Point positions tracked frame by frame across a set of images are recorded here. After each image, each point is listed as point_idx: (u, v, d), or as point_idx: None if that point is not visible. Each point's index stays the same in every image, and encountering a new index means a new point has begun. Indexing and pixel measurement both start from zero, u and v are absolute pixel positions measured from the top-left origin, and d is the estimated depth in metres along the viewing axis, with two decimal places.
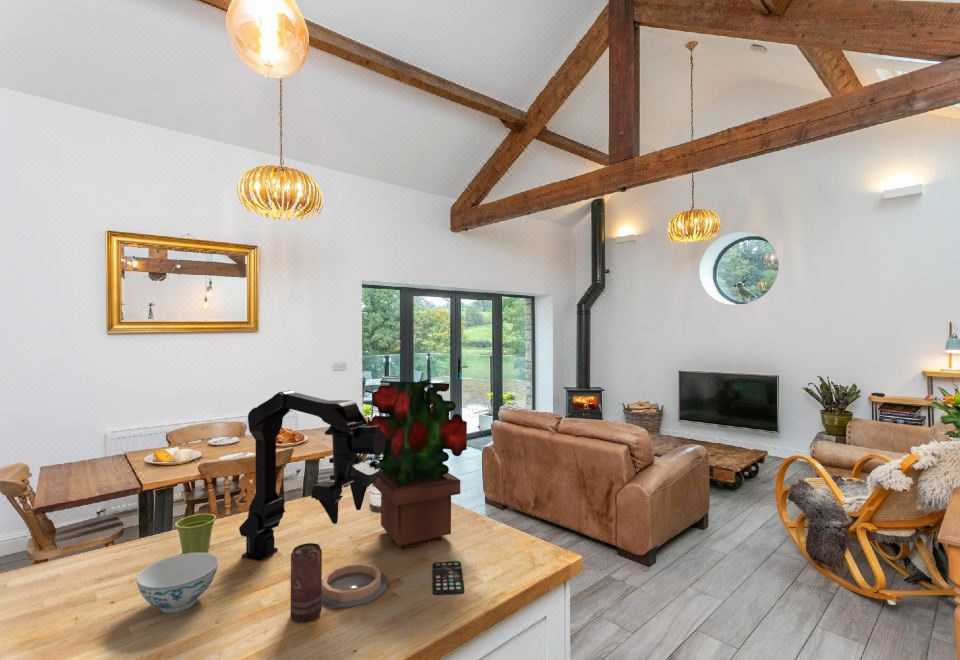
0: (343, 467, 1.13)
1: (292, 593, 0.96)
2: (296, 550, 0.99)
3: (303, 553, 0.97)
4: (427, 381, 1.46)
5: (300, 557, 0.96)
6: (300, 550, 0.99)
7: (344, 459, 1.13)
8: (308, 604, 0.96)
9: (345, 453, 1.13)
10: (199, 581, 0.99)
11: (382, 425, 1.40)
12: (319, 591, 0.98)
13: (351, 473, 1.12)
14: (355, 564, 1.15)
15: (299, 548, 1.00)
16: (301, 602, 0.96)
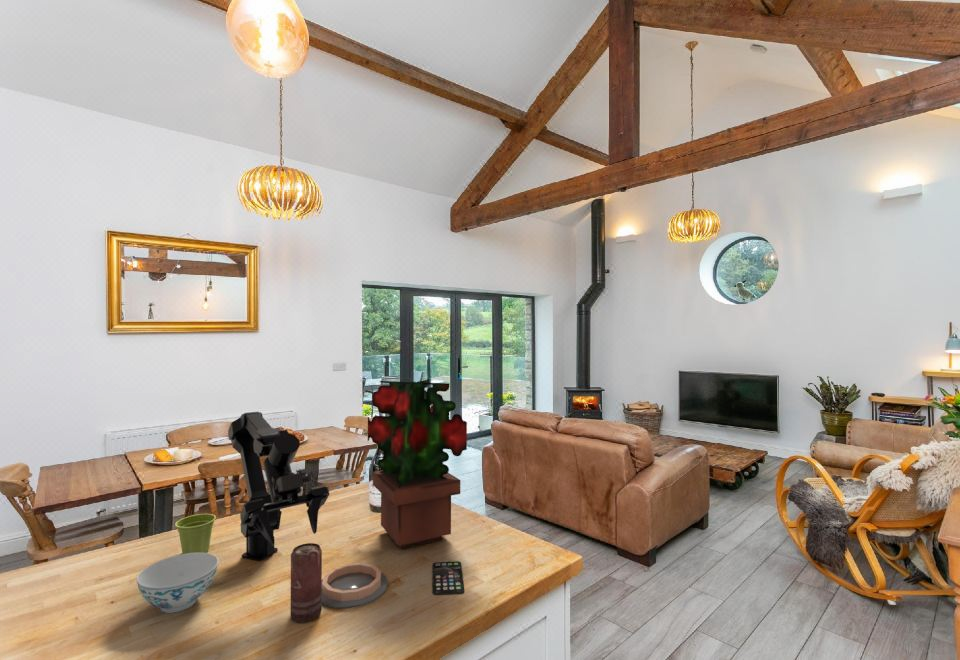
0: (272, 486, 1.09)
1: (292, 593, 0.96)
2: (296, 550, 0.99)
3: (303, 553, 0.97)
4: (427, 381, 1.46)
5: (300, 557, 0.96)
6: (300, 550, 0.99)
7: (271, 478, 1.10)
8: (308, 604, 0.96)
9: (271, 473, 1.11)
10: (199, 581, 0.99)
11: (382, 425, 1.40)
12: (319, 591, 0.98)
13: (275, 486, 1.07)
14: (355, 564, 1.15)
15: (299, 548, 1.00)
16: (301, 602, 0.96)
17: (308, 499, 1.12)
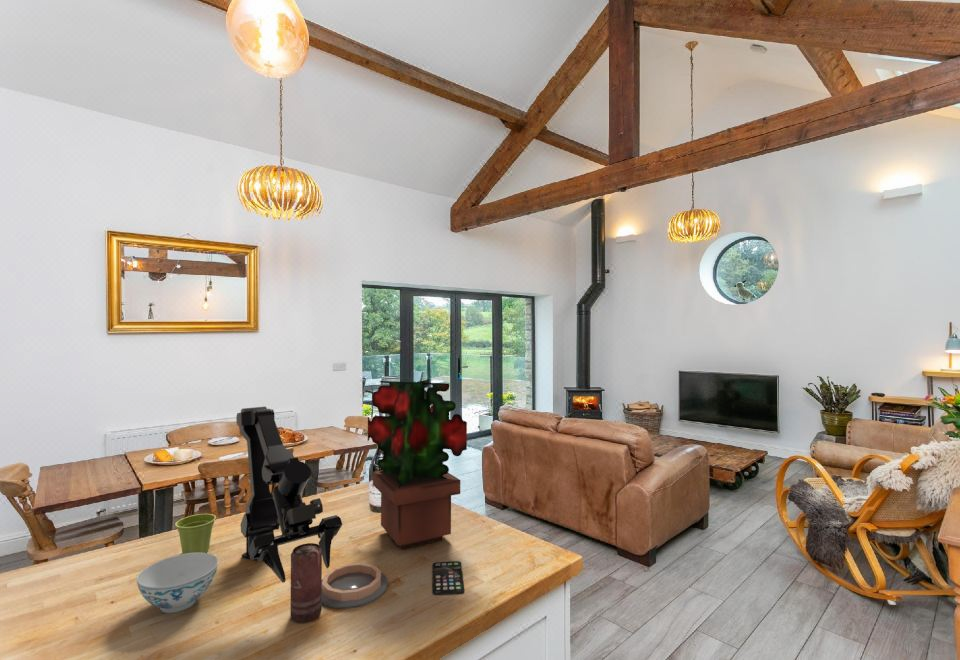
0: (282, 518, 1.03)
1: (292, 593, 0.96)
2: (296, 550, 0.99)
3: (303, 553, 0.97)
4: (427, 381, 1.46)
5: (300, 557, 0.96)
6: (300, 550, 0.99)
7: (281, 509, 1.04)
8: (308, 604, 0.96)
9: (281, 503, 1.05)
10: (199, 581, 0.99)
11: (382, 425, 1.40)
12: (319, 591, 0.98)
13: (285, 518, 1.01)
14: (355, 564, 1.15)
15: (299, 548, 1.00)
16: (301, 602, 0.96)
17: (320, 530, 1.06)
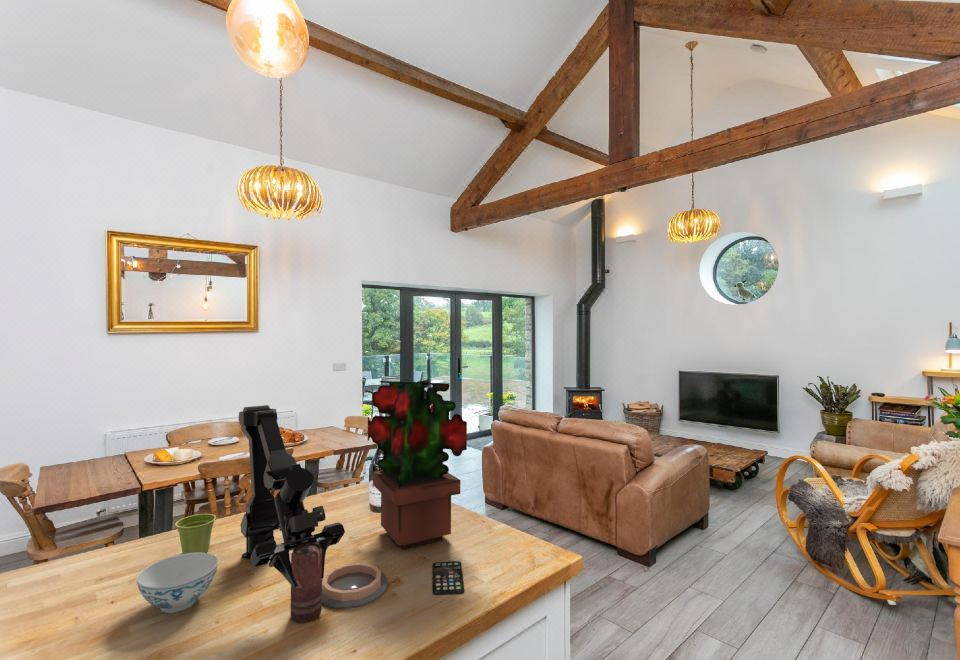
0: (284, 525, 1.02)
1: (292, 593, 0.96)
2: (296, 550, 0.99)
3: (303, 553, 0.97)
4: (427, 381, 1.46)
5: (300, 557, 0.96)
6: (300, 550, 0.99)
7: (283, 517, 1.03)
8: (308, 604, 0.96)
9: (283, 510, 1.04)
10: (199, 581, 0.99)
11: (382, 425, 1.40)
12: (319, 591, 0.98)
13: (287, 526, 1.00)
14: (355, 564, 1.15)
15: (299, 548, 1.00)
16: (301, 602, 0.96)
17: (314, 540, 1.04)
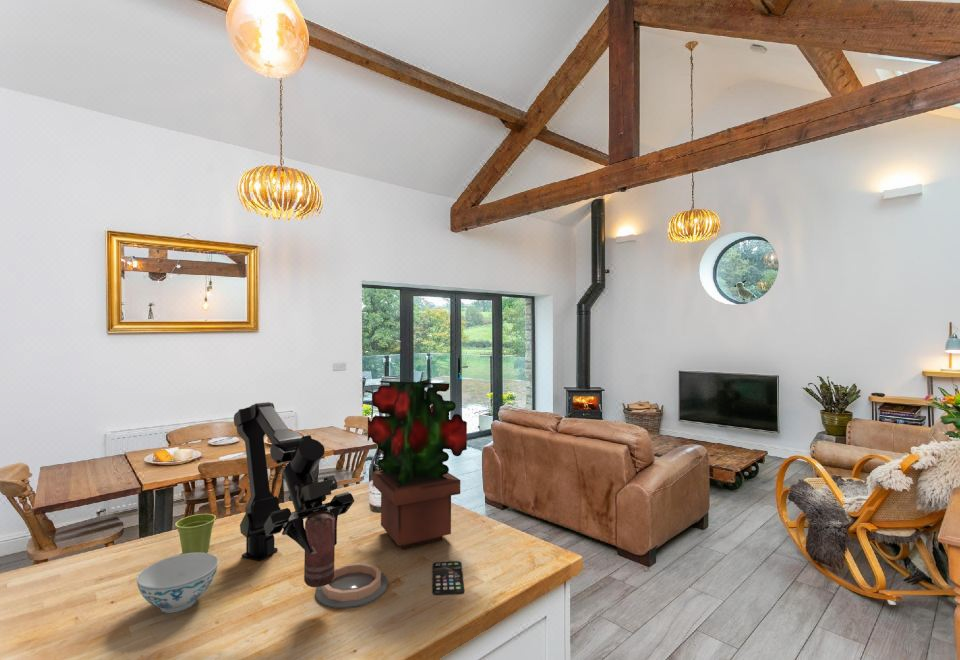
0: (296, 495, 1.04)
1: (307, 559, 0.99)
2: (310, 517, 1.01)
3: (318, 520, 1.00)
4: (427, 381, 1.46)
5: (316, 523, 0.98)
6: (314, 517, 1.01)
7: (294, 487, 1.05)
8: (323, 569, 0.99)
9: (294, 480, 1.06)
10: (199, 581, 0.99)
11: (382, 425, 1.40)
12: (333, 557, 1.01)
13: (300, 495, 1.02)
14: (355, 564, 1.15)
15: (312, 516, 1.02)
16: (316, 567, 0.98)
17: (325, 509, 1.06)
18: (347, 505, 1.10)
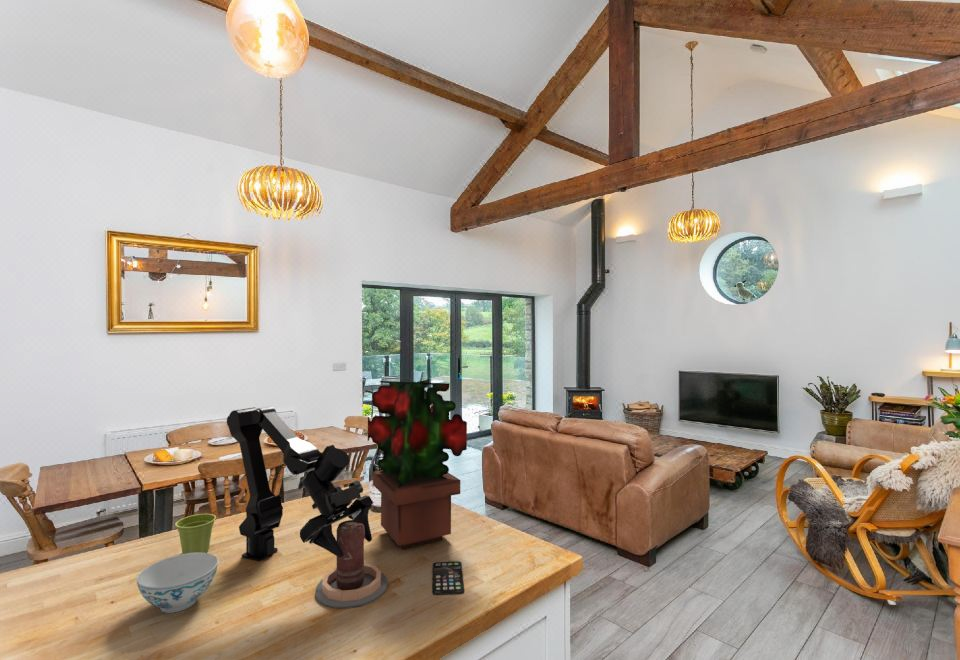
0: (324, 502, 1.10)
1: (342, 565, 1.06)
2: (340, 527, 1.09)
3: (350, 528, 1.08)
4: (427, 381, 1.46)
5: (350, 531, 1.07)
6: (344, 526, 1.09)
7: (321, 494, 1.11)
8: (358, 572, 1.07)
9: (319, 489, 1.11)
10: (199, 581, 0.99)
11: (382, 425, 1.40)
12: (363, 560, 1.10)
13: (331, 501, 1.09)
14: None
15: (341, 525, 1.09)
16: (352, 571, 1.06)
17: (354, 510, 1.15)
18: (366, 507, 1.18)
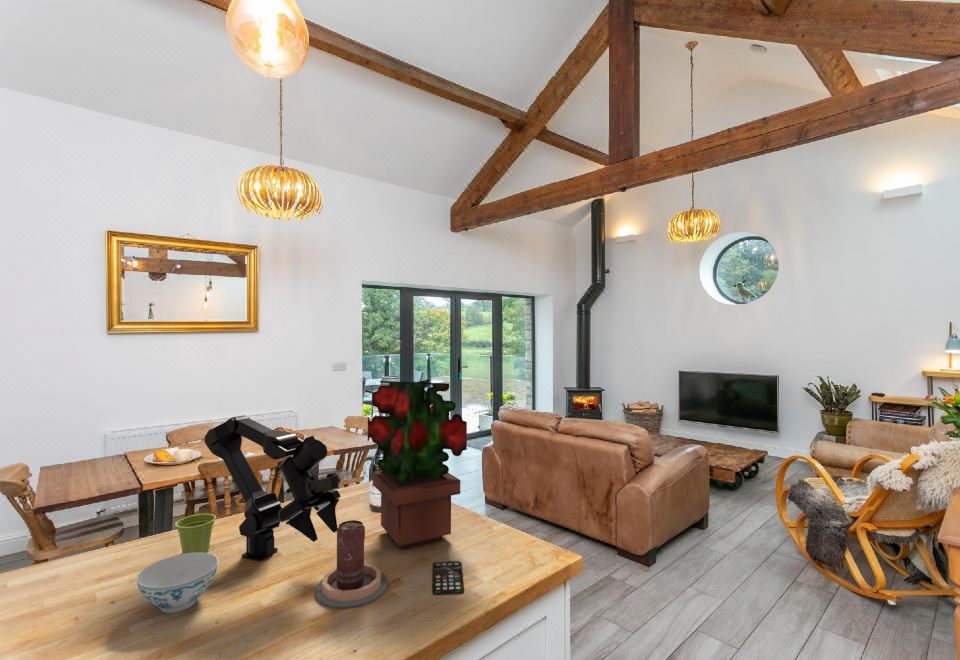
0: (302, 487, 1.16)
1: (342, 565, 1.06)
2: (341, 527, 1.08)
3: (350, 528, 1.08)
4: (427, 381, 1.46)
5: (351, 531, 1.06)
6: (345, 527, 1.09)
7: (300, 480, 1.16)
8: (358, 573, 1.07)
9: (295, 476, 1.16)
10: (199, 581, 0.99)
11: (382, 425, 1.40)
12: (363, 561, 1.10)
13: (311, 487, 1.15)
14: None
15: (342, 526, 1.09)
16: (352, 572, 1.06)
17: (323, 501, 1.21)
18: None
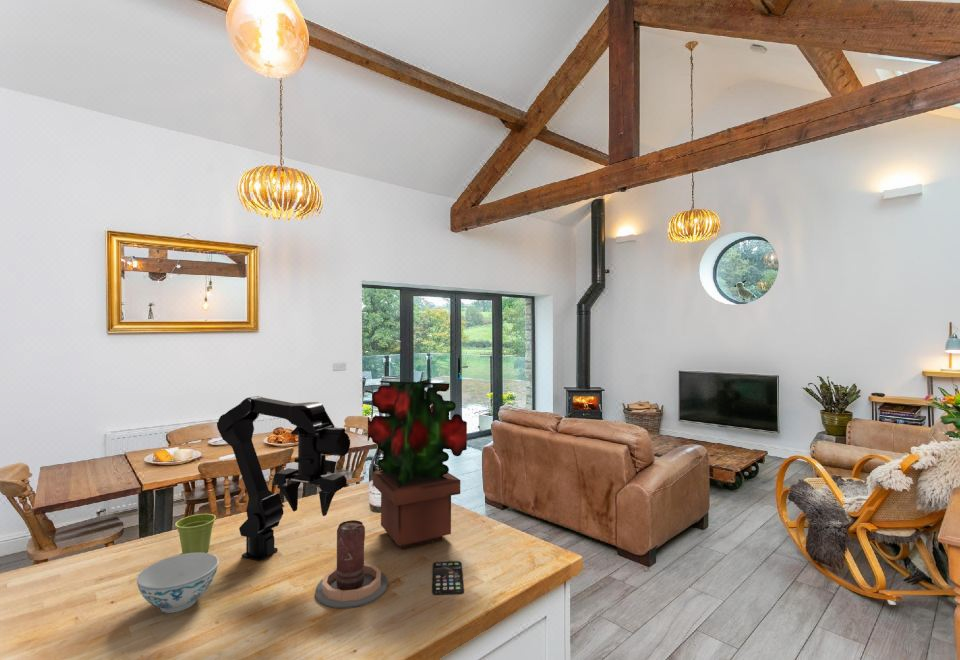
0: (321, 463, 1.21)
1: (342, 565, 1.06)
2: (341, 527, 1.08)
3: (350, 528, 1.08)
4: (427, 381, 1.46)
5: (351, 531, 1.06)
6: (345, 527, 1.09)
7: (321, 455, 1.21)
8: (358, 573, 1.07)
9: (310, 453, 1.18)
10: (199, 581, 0.99)
11: (382, 425, 1.40)
12: (363, 561, 1.10)
13: (327, 465, 1.23)
14: None
15: (342, 526, 1.09)
16: (352, 572, 1.06)
17: None
18: None
